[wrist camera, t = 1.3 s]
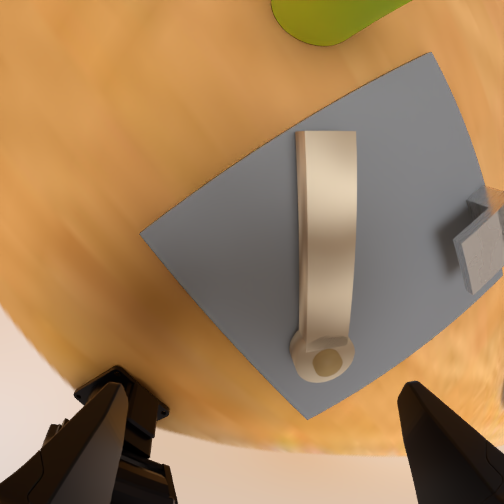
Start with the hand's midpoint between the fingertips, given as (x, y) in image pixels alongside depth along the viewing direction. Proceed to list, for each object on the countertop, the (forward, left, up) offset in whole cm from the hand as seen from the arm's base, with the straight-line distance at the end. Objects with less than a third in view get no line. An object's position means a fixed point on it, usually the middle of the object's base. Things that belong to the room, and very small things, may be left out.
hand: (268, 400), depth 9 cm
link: (+4, -4, -12) cm, 13 cm away
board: (+8, -6, -13) cm, 16 cm away
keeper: (+16, -9, -13) cm, 23 cm away
